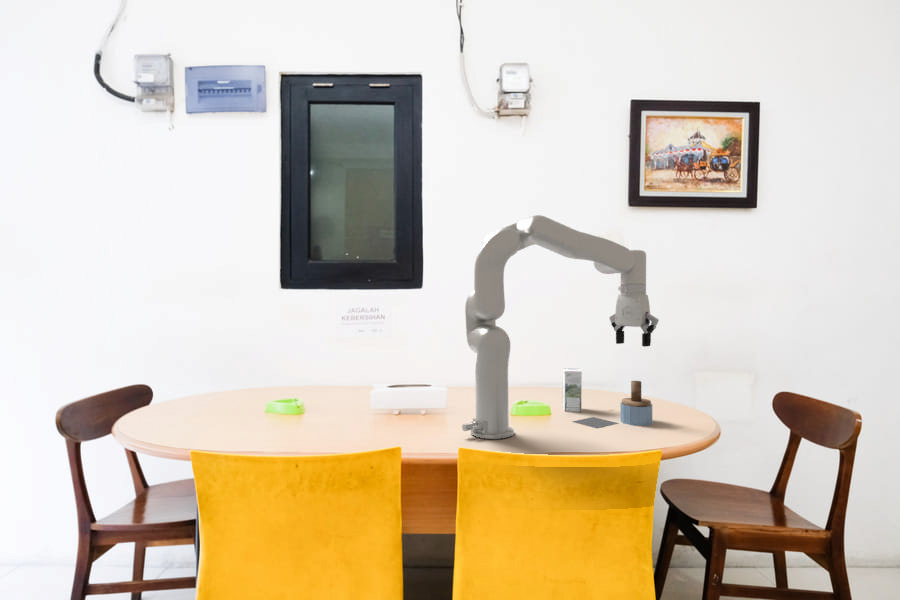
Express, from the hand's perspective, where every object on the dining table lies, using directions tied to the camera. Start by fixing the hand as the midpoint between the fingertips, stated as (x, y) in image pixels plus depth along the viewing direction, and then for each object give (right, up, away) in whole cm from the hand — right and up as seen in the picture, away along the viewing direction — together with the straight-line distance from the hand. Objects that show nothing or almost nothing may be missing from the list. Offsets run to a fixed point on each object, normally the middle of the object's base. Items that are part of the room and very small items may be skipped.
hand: (632, 344), depth 165 cm
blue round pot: (+1, -24, 0) cm, 24 cm away
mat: (-12, -25, 0) cm, 27 cm away
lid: (+1, -18, 0) cm, 18 cm away
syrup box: (-15, -24, +17) cm, 33 cm away
